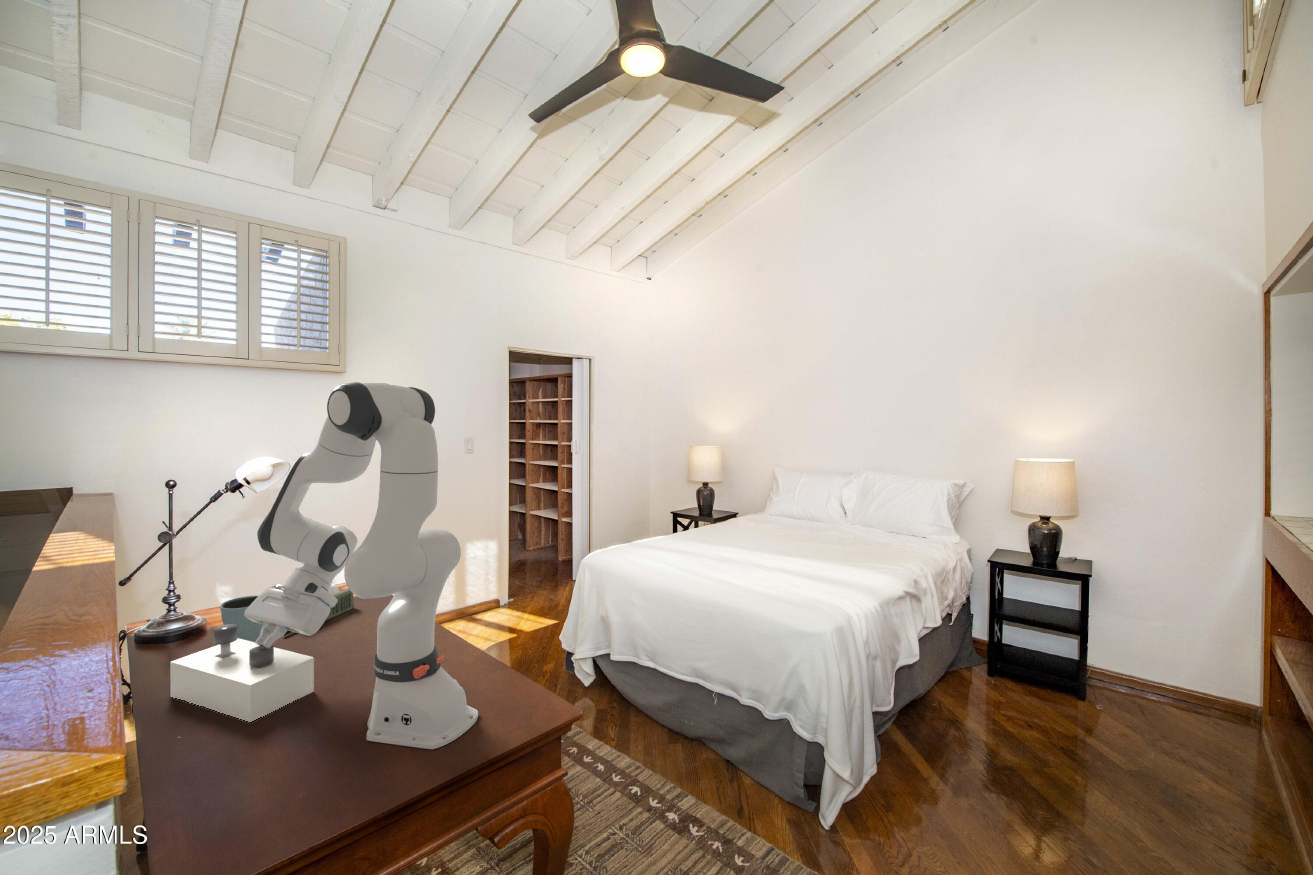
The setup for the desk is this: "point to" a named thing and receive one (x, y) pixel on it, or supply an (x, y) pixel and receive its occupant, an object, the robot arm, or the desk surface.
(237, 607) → the teal plant pot
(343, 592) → the handheld radio
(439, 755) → the desk surface
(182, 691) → the control block
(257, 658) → the knob
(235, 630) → the knob
